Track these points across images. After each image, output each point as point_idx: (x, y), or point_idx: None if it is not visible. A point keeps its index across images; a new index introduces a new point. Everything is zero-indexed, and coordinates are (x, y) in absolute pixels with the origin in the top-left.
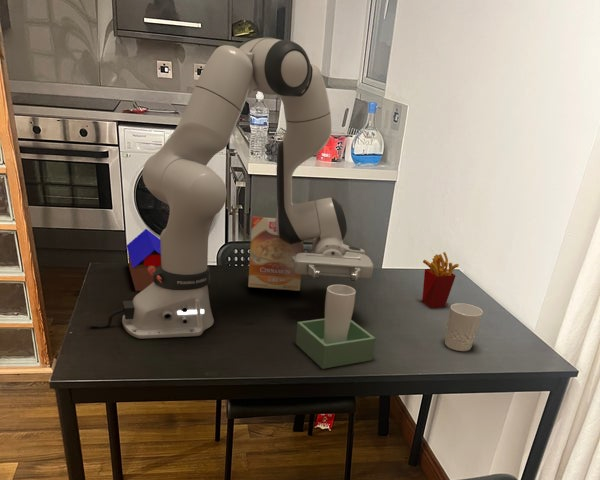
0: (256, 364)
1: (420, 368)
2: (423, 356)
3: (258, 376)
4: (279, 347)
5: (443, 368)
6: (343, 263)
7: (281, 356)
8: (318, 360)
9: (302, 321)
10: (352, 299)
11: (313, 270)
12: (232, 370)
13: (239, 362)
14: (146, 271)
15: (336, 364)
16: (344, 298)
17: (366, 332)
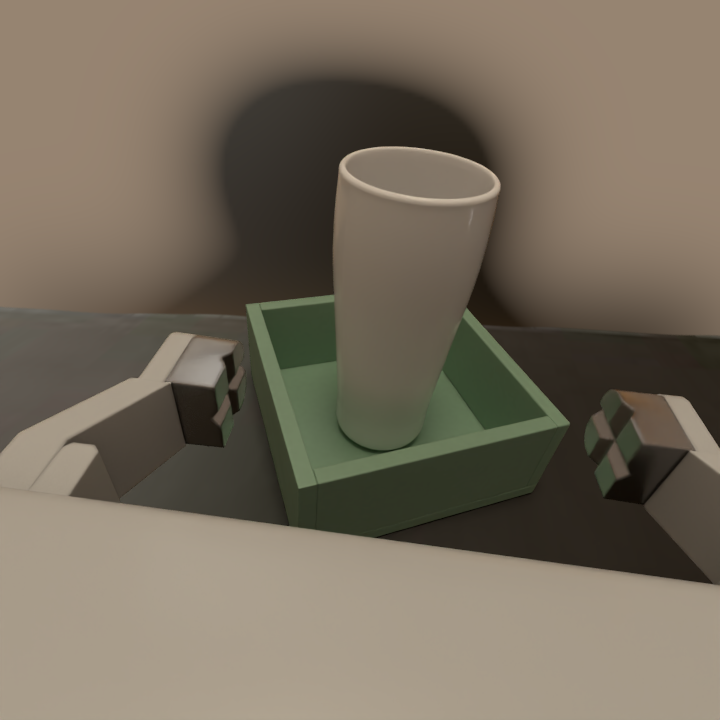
0: (624, 377)
1: (113, 331)
2: (28, 386)
3: (595, 334)
4: (589, 467)
5: (32, 326)
6: (251, 545)
7: (563, 411)
8: None
9: (547, 427)
10: (362, 177)
11: (704, 437)
12: (674, 358)
13: (678, 389)
14: None
15: None
16: (407, 164)
17: (262, 335)
